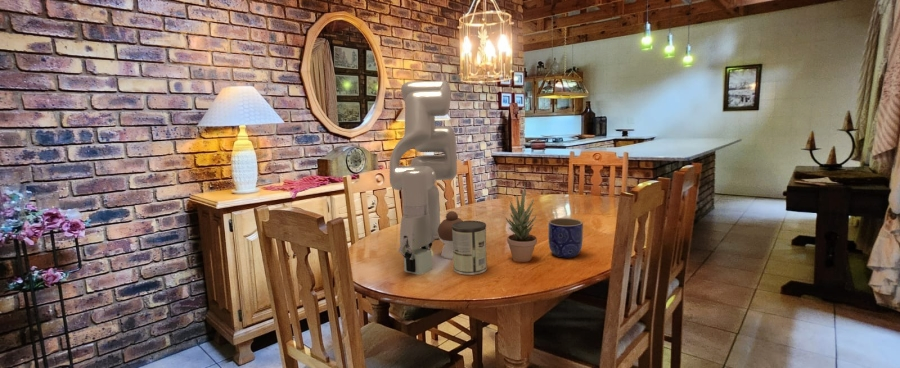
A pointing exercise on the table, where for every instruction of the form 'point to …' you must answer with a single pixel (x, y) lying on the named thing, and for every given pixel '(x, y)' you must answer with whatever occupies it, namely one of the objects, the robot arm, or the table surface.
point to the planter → (565, 237)
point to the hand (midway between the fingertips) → (418, 267)
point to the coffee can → (469, 247)
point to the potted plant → (521, 232)
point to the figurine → (447, 234)
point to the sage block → (421, 261)
